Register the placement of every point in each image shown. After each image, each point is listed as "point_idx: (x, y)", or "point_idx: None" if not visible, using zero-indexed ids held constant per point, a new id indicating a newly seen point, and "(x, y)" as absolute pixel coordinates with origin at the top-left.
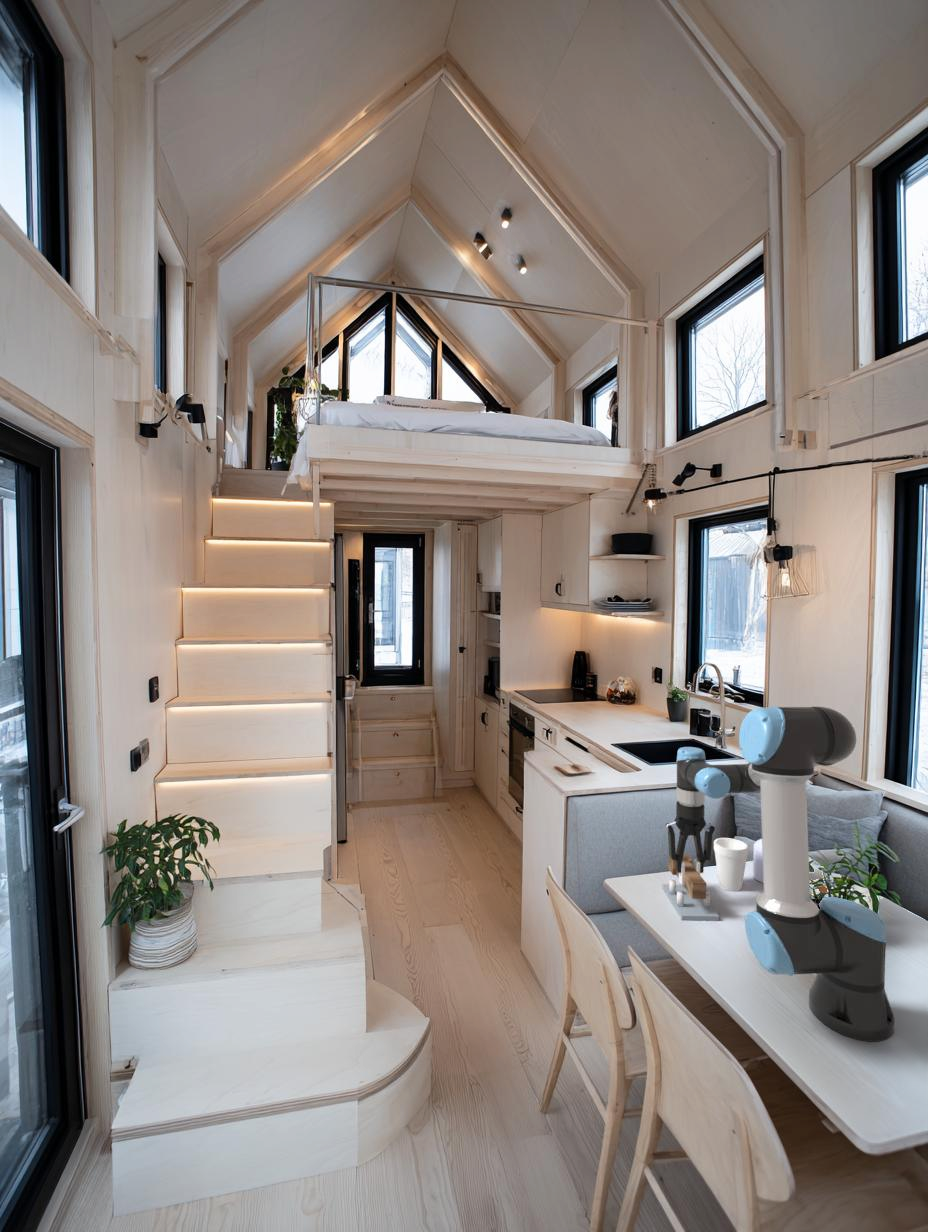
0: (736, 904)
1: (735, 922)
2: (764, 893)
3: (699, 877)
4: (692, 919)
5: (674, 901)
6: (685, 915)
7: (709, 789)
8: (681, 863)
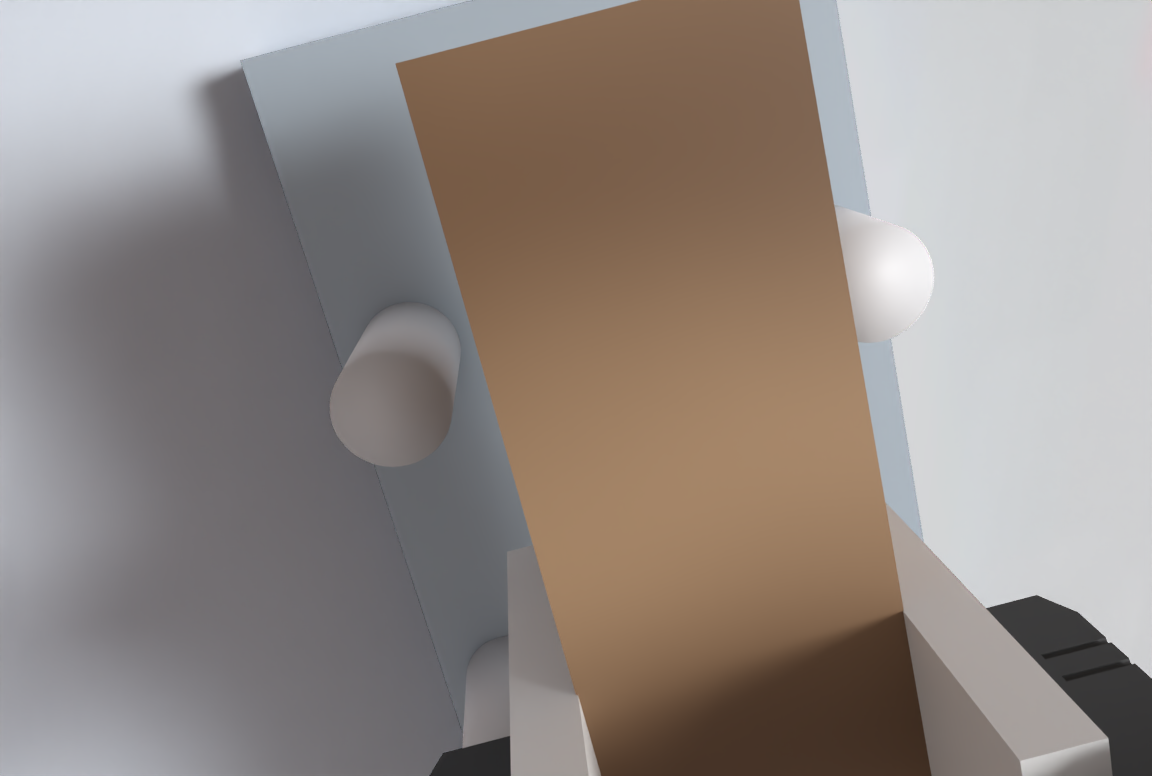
0: (7, 617)
1: (18, 82)
2: None
3: (557, 381)
4: None
5: (869, 353)
6: None
7: None
8: (1085, 767)
